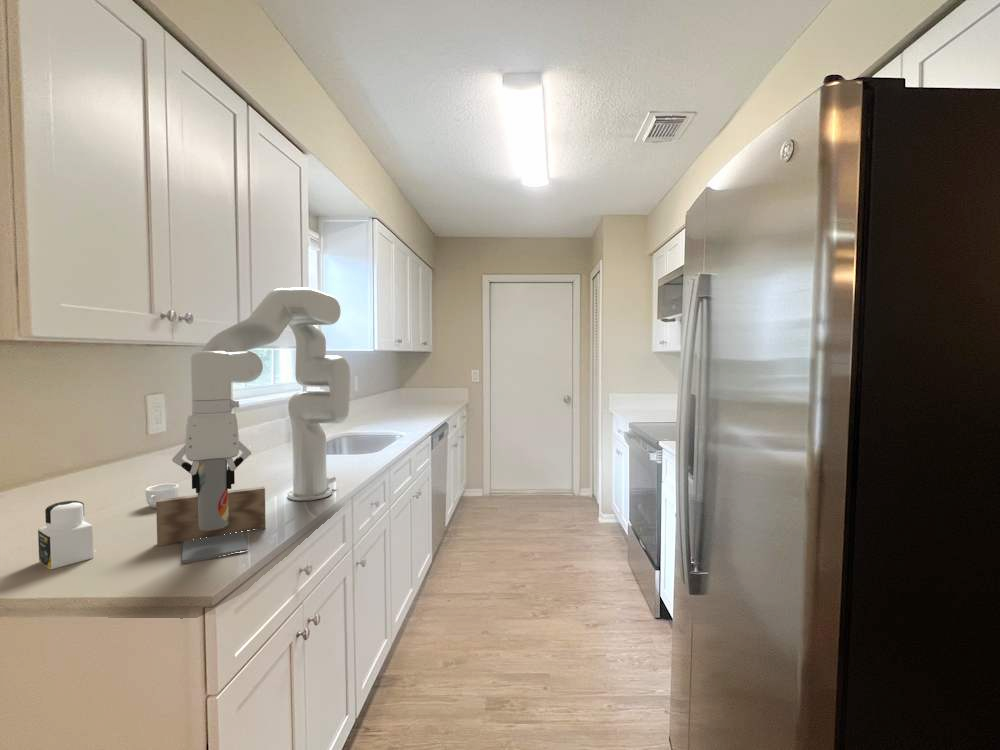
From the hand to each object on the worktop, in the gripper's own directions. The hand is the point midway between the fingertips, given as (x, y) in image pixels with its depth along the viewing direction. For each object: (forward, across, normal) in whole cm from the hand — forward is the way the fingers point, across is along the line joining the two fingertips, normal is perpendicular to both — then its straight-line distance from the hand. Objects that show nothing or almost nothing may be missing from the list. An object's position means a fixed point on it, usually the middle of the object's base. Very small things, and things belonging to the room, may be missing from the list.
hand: (213, 488), depth 109 cm
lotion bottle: (+9, 0, 0) cm, 9 cm away
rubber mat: (+13, 0, 0) cm, 13 cm away
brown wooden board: (+13, 0, -9) cm, 16 cm away
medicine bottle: (+14, +26, -9) cm, 31 cm away
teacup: (+14, +12, -42) cm, 46 cm away
